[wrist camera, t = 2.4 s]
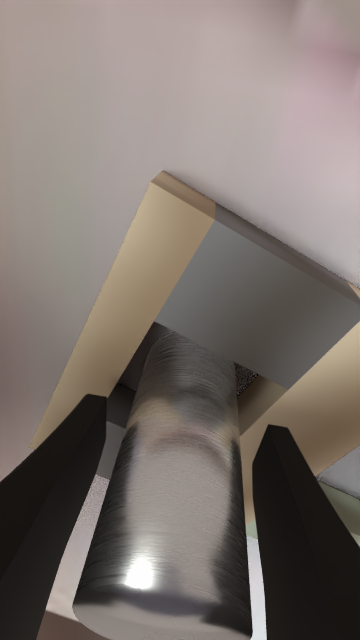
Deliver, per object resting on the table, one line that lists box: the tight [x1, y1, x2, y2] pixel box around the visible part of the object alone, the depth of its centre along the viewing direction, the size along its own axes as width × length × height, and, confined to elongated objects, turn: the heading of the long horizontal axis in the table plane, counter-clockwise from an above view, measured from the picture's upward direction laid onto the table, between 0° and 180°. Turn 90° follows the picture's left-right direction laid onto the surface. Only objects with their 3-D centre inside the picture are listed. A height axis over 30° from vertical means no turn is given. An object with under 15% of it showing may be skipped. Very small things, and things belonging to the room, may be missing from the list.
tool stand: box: [29, 171, 360, 546], centre depth 13 cm, size 18×12×2 cm
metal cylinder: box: [72, 332, 253, 640], centre depth 10 cm, size 4×4×8 cm
